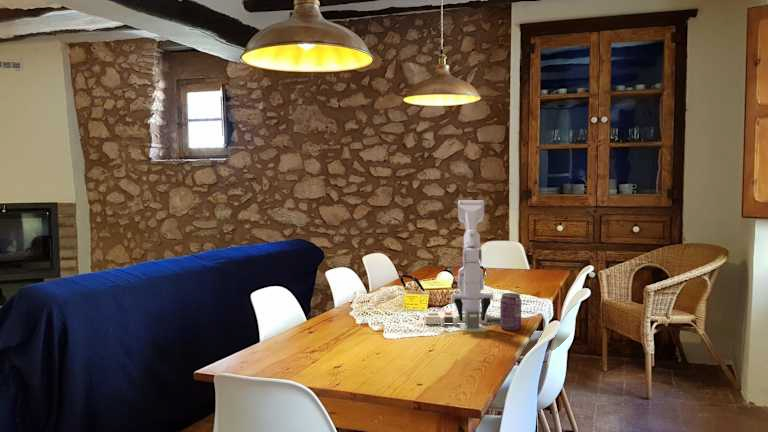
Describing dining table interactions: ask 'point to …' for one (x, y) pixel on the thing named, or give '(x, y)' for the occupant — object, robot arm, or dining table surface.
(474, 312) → the block
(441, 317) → the power strip
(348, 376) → the dining table surface
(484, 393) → the dining table surface
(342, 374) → the dining table surface
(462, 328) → the coaster
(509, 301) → the beverage can
